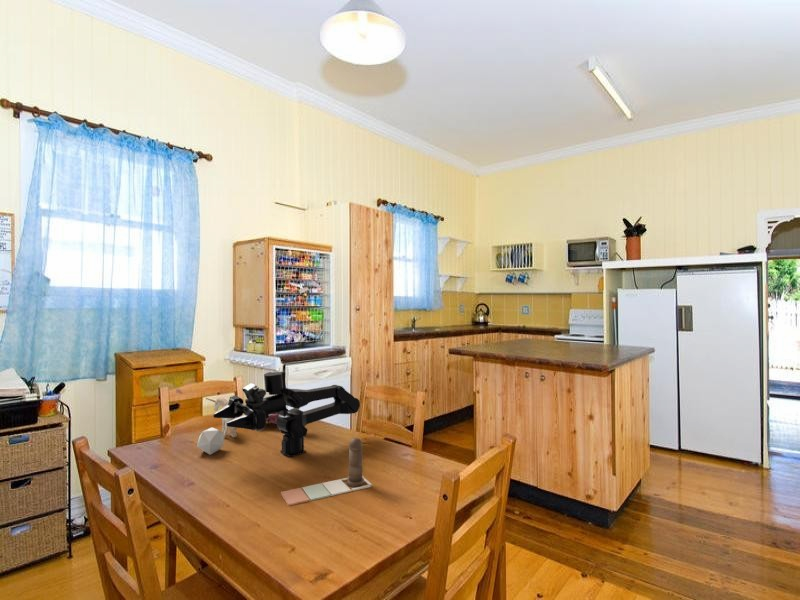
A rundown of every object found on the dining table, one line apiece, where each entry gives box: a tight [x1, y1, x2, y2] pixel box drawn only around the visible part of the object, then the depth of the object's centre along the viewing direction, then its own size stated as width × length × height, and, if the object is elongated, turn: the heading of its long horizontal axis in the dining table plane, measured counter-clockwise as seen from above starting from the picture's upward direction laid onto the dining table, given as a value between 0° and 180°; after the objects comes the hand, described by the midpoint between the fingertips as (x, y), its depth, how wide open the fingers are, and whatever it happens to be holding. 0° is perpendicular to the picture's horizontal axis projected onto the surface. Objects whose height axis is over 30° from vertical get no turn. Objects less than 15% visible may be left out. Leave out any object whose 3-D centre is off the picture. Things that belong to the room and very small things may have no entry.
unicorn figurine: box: [205, 397, 238, 439], centre depth 167 cm, size 7×20×13 cm, turn 51°
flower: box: [266, 412, 279, 426], centre depth 180 cm, size 15×15×10 cm
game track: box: [280, 475, 374, 507], centre depth 120 cm, size 24×8×1 cm, turn 119°
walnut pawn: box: [346, 437, 365, 488], centre depth 124 cm, size 5×5×13 cm
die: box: [196, 426, 225, 456], centre depth 149 cm, size 8×9×10 cm
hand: (220, 420), depth 130 cm, fingers open, 9 cm apart
